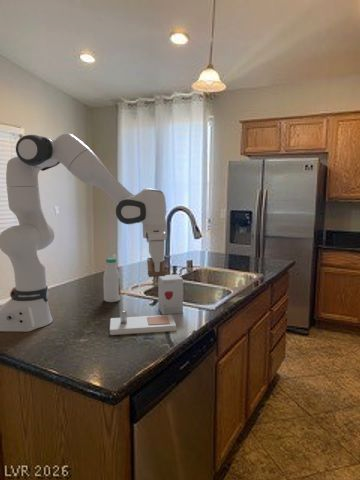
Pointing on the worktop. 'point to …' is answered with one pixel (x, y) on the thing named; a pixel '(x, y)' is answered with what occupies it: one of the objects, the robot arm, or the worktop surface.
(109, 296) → the milk bottle
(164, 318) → the terracotta tile
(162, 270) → the walnut cap
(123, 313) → the metal post
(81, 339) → the worktop surface
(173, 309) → the supplement box
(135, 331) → the white rectangular board
